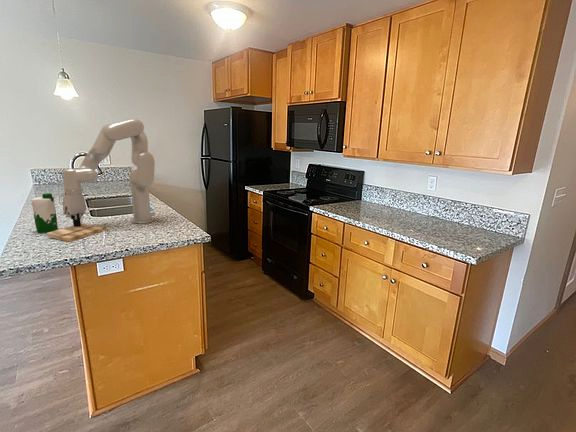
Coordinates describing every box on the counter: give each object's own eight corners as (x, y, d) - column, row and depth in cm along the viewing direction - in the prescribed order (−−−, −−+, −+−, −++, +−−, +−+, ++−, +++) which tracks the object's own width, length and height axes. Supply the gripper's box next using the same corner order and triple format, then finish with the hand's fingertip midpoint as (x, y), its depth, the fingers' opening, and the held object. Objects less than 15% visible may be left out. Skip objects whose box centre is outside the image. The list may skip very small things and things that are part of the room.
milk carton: (55, 232, 167) (49, 195, 162) (34, 234, 164) (28, 195, 159) (60, 228, 175) (55, 192, 170) (40, 229, 172) (34, 192, 167)
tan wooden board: (81, 226, 177) (81, 222, 176) (94, 229, 175) (94, 225, 174) (47, 236, 158) (46, 232, 157) (61, 240, 156) (60, 236, 156)
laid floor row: (97, 229, 176) (96, 225, 175) (106, 230, 174) (105, 226, 174) (60, 240, 155) (59, 236, 155) (69, 242, 154) (69, 238, 153)
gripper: (80, 190, 175) (83, 222, 179) (54, 194, 160) (58, 229, 165) (91, 191, 173) (94, 223, 177) (65, 195, 159) (70, 230, 163)
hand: (77, 226), depth 171 cm, fingers closed
